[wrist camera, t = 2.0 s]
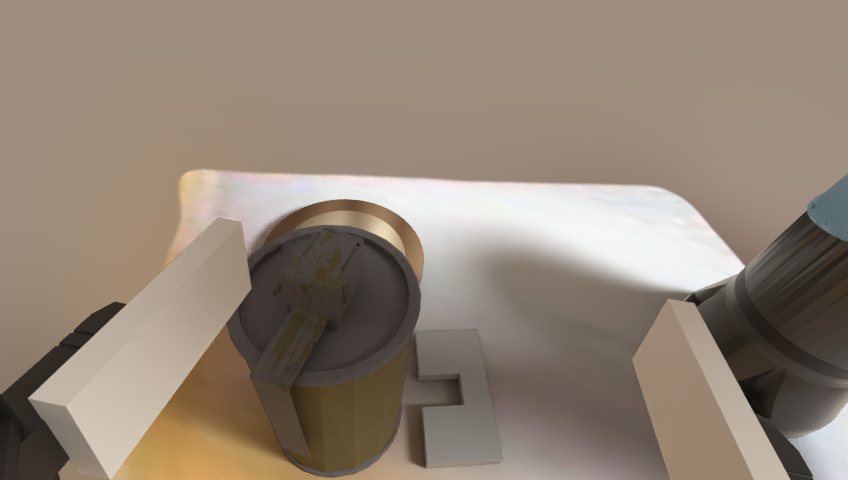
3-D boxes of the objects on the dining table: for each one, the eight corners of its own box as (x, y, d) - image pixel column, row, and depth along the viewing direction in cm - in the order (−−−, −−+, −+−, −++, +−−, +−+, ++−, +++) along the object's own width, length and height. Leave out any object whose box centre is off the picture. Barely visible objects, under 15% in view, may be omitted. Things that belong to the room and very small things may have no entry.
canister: (313, 337, 41) (285, 172, 26) (417, 376, 39) (450, 224, 24) (246, 453, 34) (152, 317, 19) (369, 506, 32) (374, 403, 17)
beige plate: (416, 209, 54) (417, 199, 52) (429, 330, 43) (431, 322, 41) (274, 207, 51) (272, 197, 50) (248, 335, 40) (245, 326, 39)
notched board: (475, 335, 43) (477, 329, 42) (499, 463, 35) (502, 458, 34) (414, 337, 42) (415, 330, 41) (425, 468, 34) (427, 464, 33)
